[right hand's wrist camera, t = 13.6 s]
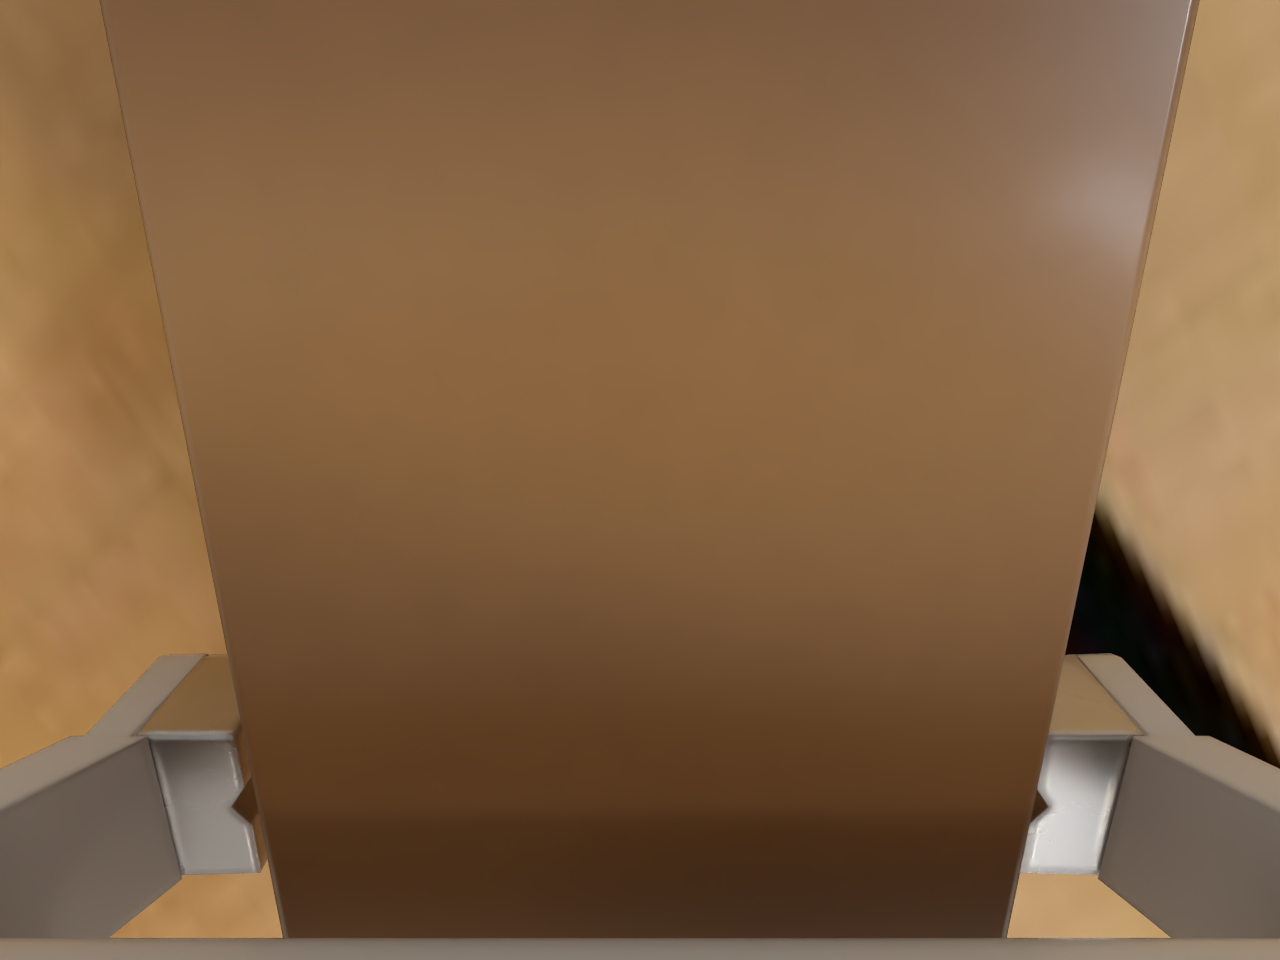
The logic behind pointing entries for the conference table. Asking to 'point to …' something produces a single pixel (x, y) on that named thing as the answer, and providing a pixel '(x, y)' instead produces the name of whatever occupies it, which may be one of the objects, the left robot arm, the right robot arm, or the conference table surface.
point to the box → (647, 436)
